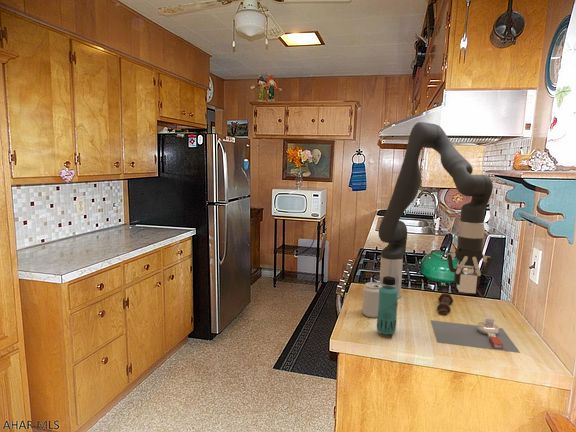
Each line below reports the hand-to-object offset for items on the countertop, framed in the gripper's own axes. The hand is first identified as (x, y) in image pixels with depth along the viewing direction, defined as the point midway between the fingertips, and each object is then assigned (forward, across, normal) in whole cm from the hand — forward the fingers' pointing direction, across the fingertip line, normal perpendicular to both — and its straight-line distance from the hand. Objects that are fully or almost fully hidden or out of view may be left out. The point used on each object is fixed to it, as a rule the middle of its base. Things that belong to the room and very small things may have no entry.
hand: (466, 284), depth 127 cm
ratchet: (+17, -9, +2) cm, 19 cm away
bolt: (+18, +3, -21) cm, 28 cm away
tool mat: (+18, -3, +1) cm, 18 cm away
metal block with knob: (+2, 0, 0) cm, 2 cm away
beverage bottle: (+18, +25, +8) cm, 32 cm away
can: (+18, +31, -8) cm, 36 cm away
